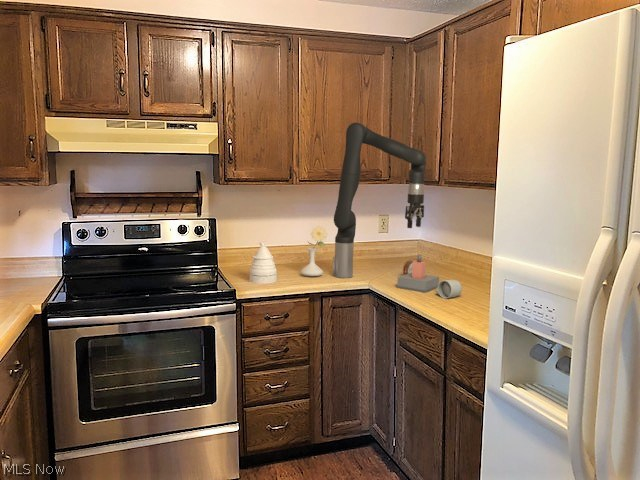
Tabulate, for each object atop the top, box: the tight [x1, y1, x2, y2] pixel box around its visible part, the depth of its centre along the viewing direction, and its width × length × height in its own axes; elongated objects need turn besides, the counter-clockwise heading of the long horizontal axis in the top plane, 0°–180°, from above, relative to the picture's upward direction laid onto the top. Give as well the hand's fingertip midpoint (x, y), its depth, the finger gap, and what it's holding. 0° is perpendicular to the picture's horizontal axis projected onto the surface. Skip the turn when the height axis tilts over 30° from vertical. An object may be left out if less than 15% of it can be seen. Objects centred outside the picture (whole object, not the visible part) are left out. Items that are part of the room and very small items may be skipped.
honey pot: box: [249, 241, 278, 285], centre depth 253 cm, size 13×13×18 cm
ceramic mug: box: [435, 279, 463, 299], centre depth 230 cm, size 11×8×8 cm
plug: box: [412, 254, 427, 279], centre depth 244 cm, size 4×4×14 cm
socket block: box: [396, 273, 440, 294], centre depth 245 cm, size 14×14×5 cm
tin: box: [402, 258, 417, 275], centre depth 271 cm, size 15×3×8 cm, turn 141°
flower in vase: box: [300, 226, 328, 277], centre depth 266 cm, size 13×11×25 cm
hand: (413, 227), depth 254 cm, fingers open, 8 cm apart
